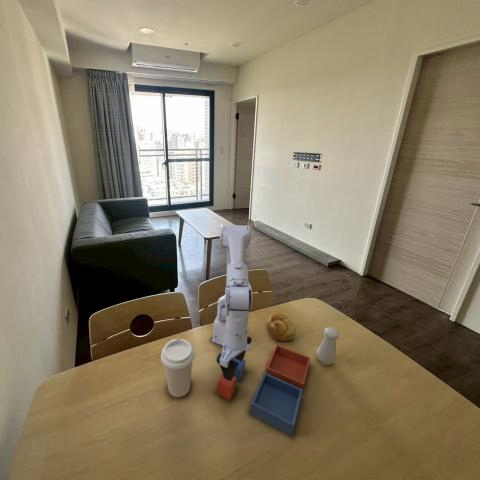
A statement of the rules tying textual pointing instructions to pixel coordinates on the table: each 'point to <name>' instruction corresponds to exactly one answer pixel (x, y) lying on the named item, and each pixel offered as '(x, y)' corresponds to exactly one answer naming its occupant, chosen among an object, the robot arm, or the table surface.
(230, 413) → the table surface
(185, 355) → the coffee cup
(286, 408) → the blue bin
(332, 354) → the salt shaker
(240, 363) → the blue block
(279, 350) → the red bin
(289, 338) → the bread roll
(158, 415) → the table surface
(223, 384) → the red block
